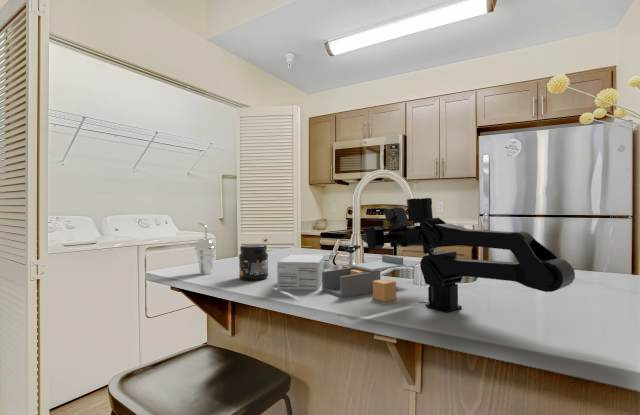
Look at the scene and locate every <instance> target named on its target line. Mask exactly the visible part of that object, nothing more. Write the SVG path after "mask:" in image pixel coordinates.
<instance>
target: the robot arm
mask: <svg viewBox="0 0 640 415" xmlns="http://www.w3.org/2000/svg"><path fill="white" fill-rule="evenodd" d="M432 200H433V199H432V198H431V197H425V198H423V197H422V198H408V199H406V205H407V207H406V208H407V212H406V210H405V209H404V207H400V206H399V207H397V206H395V207H393V208H392V207H391V208H388V209H387V210H386V212H385V213H384V216H385V219H386V222H388V223H389V224H390V225H388V226H387V228H388V229H387V230H388V233H387V234H384V233H385V232H384V231H385V230H384V228H383V227H382V226H368V227H367V228H366V234H363V235H361V240H362V241H363V242H364V243H365V244H367V248H368V249H369V250H371V249H372V250H374V249H376V250H377V249H383V248H384V246H385V244H390V248H398V247H400V248H407V247H408V248H409V247H410V248H411V247H413V248H415V247H422V250H423V254H424V256H423V257H422V258H421V260H420V264H419V265H420V266H419V267H420V271H421V272H422V276H423V279H424V283H425V285H429V286H428V291H427V292H428V295H427V297H428V299H427V300H428V303H425V307H426V308H427V307H428V308H431V309H434V310H438V311H441V312H444V313H449V312H453V311H456V310H459V309H462V307H463V306H462V305H460V304H459V294H458V293H459V292H458V291H459V290H458V288H459V287H458V286H459V285H458V283H461V282H462V280H463V277H470V278H480V279H489V280H496V281H509V282H515V283H517V284H520V285H522V286H524V287H526V288H530V289H533V290H537V291H540V292H541V291H542V292H545V293H553V292H555V291H558V290H560V289H563V288H566V287H568V286H571V284H572V283H573V282H574V281H575V278H576V273H575V270H574V268H573V266H572V265H571V263H569V262H568V261H567V260H565V259H563V258H560V257H558V256H557V255H556V254H555V253H554V252H553V251H552V250H550V249H549V248H547V247H546V246H544V245H543V244H542V243H541V242H539V241H537V239H535V237H534V236H532V235H531V233H528V232H527V231H503V230H502V231H501V230H485V229H484V230H483V229H470V228H466V227H464V226H461V225H456V224H453V223H447V222H446V221H444V220H443V219H441V218H440V217H433V206H432V204H433V201H432ZM409 222H412V224H419V225H411V224H410V225H409ZM455 246H469V247H478V248H488V249H495V250H496V249H498V250H507V251H511V253H512V254H513V255H514V257H515V259H516V261H517V262H514V261H501V260H482V259H468V258H467V259H466V258H465V259H464V258H461V257H458V256H457V250H456V251H446V250H440V251H439V250H438V251H435V250H436V249H437V248H443V247H444V248H445V247H455ZM425 254H427V255H425Z"/></svg>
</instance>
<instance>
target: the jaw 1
mask: <svg viewBox="0 0 640 415" xmlns="http://www.w3.org/2000/svg"><path fill="white" fill-rule="evenodd" d="M366 272H372V271H368V270H364V269H356V270H350V275H353V274H360V273H366Z"/></svg>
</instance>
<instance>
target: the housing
mask: <svg viewBox="0 0 640 415" xmlns="http://www.w3.org/2000/svg"><path fill="white" fill-rule="evenodd" d="M356 269H359V268H355V267H350V268H348V267H345V268H339V269H330V270H324V271H322V284H321V290H322V291H323V292H324V293H325V292H326V293H328V294H330V295H334V296H336V297H339V298H342V299H344V298H348V297H353V296H354V297H355V296H357V295H363V294H369V293H373V281H375V280H381V270H378V271H371V272H366V273H360V274H353V275H350V270H356ZM337 289H338V290H337Z"/></svg>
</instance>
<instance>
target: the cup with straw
mask: <svg viewBox="0 0 640 415" xmlns="http://www.w3.org/2000/svg"><path fill="white" fill-rule="evenodd" d="M198 225H200V226H201V227H202V226H203V227H204V238H202V239H200V240H199V241H198V242H197V243H196V246H195V247H194V249H193V250H194V251H196V256H197V260H198V270H199V275H202V274H206V275H211V274H213V272H212V271H213V269H214V268H213V266H214V257H215V252H216V250H217V246H216V245H215V242H214V241H213V240H212V239H210V238H208V234H207V233H208V231H207V230H208V228H207V224H204V223H201V222H198ZM210 273H211V274H210Z"/></svg>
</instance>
